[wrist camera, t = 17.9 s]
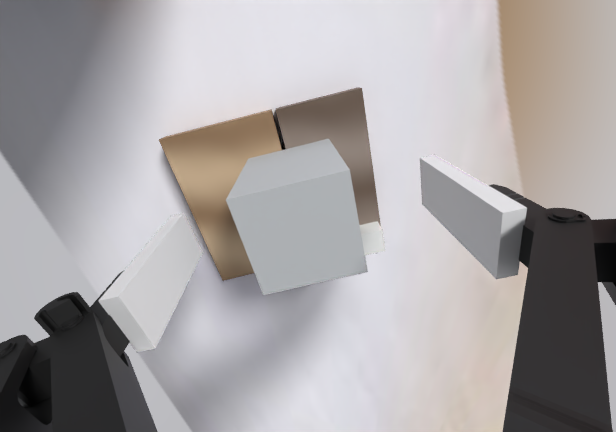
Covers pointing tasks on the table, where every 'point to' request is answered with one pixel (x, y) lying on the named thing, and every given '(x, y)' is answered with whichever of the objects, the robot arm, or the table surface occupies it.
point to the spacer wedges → (372, 238)
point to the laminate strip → (337, 139)
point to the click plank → (219, 179)
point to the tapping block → (298, 217)
